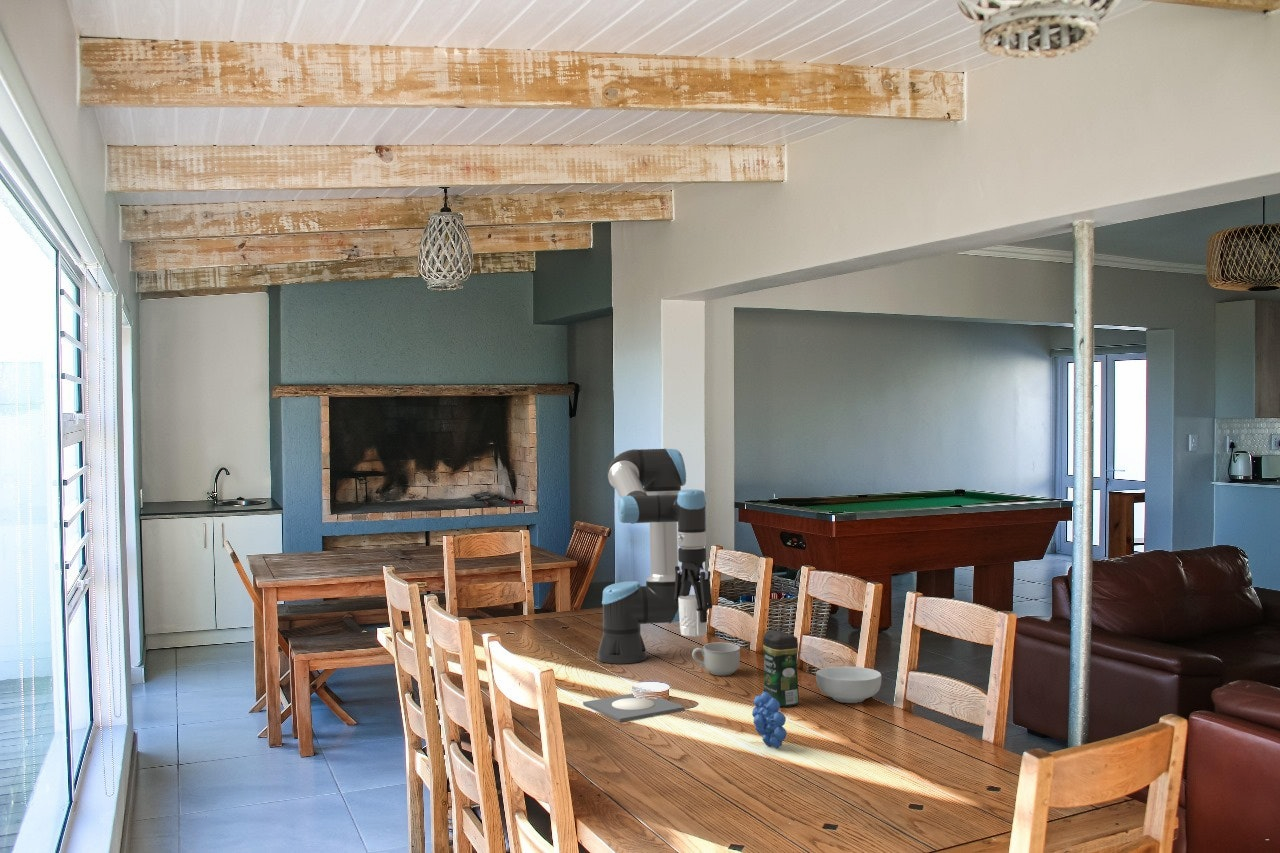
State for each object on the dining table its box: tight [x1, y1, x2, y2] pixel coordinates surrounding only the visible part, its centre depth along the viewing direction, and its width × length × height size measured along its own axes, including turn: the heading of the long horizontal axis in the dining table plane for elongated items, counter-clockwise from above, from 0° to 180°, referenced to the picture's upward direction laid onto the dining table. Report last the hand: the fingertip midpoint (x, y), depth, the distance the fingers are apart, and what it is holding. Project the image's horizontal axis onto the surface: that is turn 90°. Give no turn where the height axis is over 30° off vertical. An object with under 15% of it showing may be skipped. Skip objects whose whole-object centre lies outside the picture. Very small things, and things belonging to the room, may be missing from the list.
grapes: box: [751, 691, 787, 749], centre depth 244 cm, size 12×7×12 cm, turn 28°
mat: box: [582, 693, 685, 723], centre depth 278 cm, size 19×19×1 cm
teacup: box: [691, 641, 741, 677], centre depth 314 cm, size 14×11×8 cm
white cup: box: [678, 594, 706, 637], centre depth 291 cm, size 8×8×10 cm
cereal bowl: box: [815, 666, 882, 704], centre depth 283 cm, size 17×17×7 cm
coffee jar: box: [762, 629, 800, 708], centre depth 280 cm, size 10×8×19 cm
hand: (693, 631), depth 292 cm, fingers closed on white cup, 7 cm apart
